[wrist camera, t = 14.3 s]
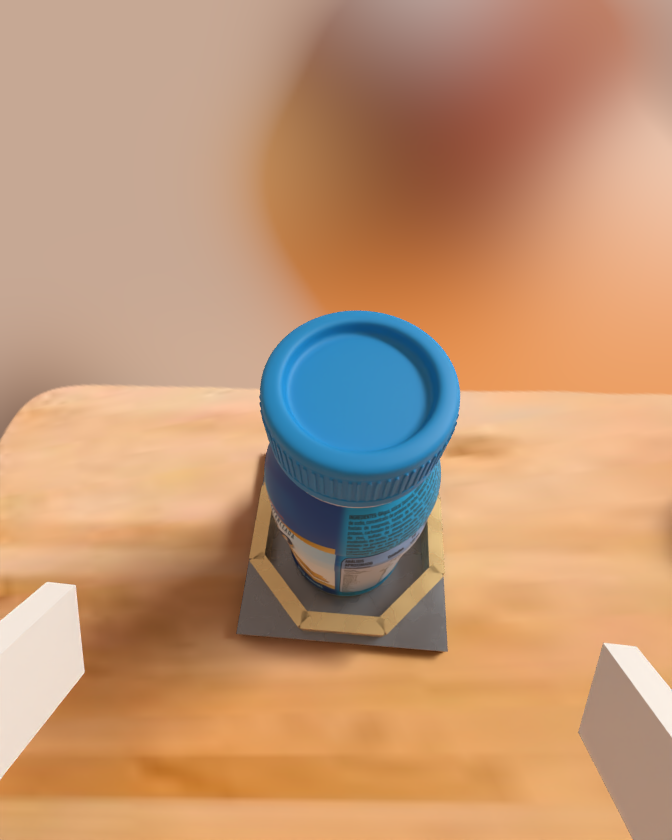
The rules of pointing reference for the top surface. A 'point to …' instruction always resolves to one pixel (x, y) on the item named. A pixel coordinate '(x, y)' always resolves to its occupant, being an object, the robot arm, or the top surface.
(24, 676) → the robot arm
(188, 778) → the top surface
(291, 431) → the beverage bottle
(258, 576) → the flange base
